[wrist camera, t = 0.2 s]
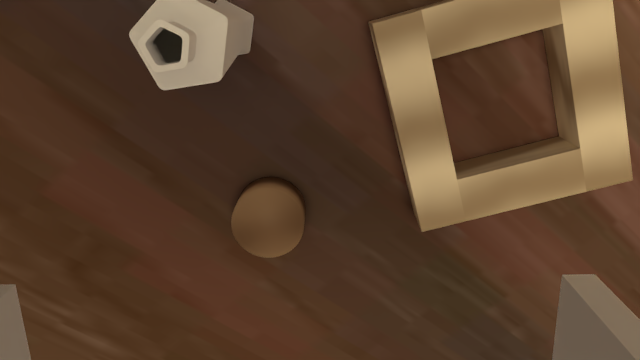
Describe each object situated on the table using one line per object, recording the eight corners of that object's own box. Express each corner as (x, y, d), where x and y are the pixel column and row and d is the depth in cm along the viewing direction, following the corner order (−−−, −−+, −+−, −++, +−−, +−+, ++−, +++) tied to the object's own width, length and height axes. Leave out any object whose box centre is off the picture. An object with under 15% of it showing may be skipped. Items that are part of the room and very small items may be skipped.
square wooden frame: (368, 21, 37) (372, 23, 34) (581, -39, 36) (607, -43, 32) (413, 213, 41) (421, 232, 38) (607, 165, 40) (632, 180, 36)
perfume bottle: (274, 45, 38) (243, 71, 23) (217, 75, 38) (153, 118, 24) (241, -20, 36) (185, -35, 22) (183, 12, 37) (92, 18, 23)
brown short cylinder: (228, 186, 41) (221, 199, 38) (294, 169, 40) (292, 181, 37) (249, 247, 42) (243, 265, 39) (313, 231, 42) (312, 248, 39)
